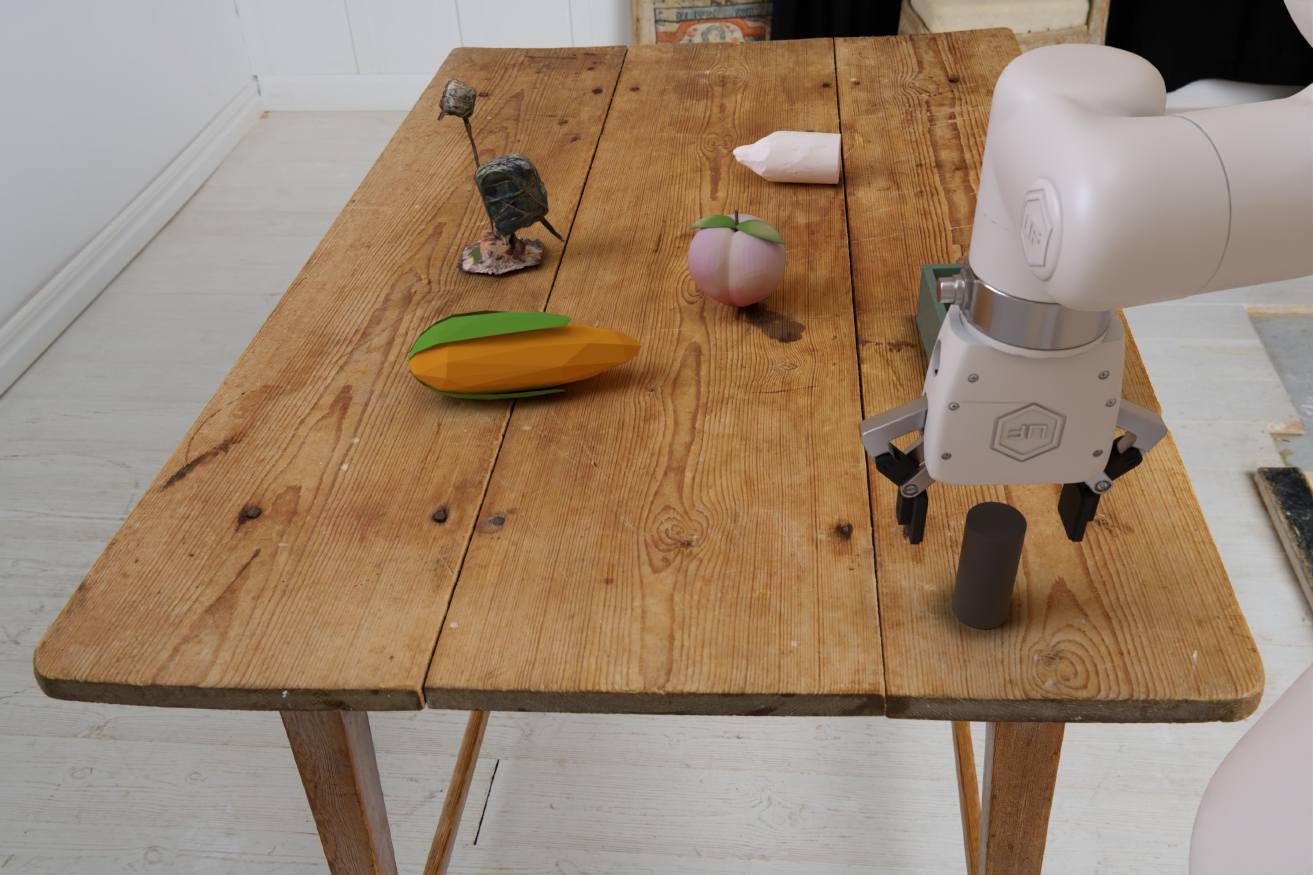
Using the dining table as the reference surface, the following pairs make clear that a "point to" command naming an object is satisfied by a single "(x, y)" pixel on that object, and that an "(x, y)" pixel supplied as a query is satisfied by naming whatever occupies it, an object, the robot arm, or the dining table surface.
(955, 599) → the dark grey cylinder
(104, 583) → the dining table surface
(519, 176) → the long necked figurine
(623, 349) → the corn
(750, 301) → the decorative fruit
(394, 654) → the dining table surface
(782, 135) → the white pointed cylinder
